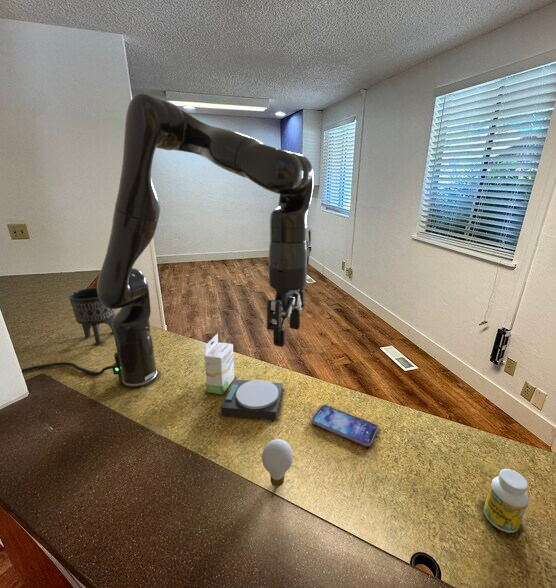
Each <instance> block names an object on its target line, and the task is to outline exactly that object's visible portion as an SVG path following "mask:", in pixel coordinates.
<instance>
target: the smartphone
mask: <svg viewBox="0 0 556 588" xmlns="http://www.w3.org/2000/svg"><path fill="white" fill-rule="evenodd" d="M311 423H312V424H313V425H314V426H317V427H320V428H321V429H324V430H327V431H329V432H331V433H333V434H336V435H339V436H341V437H343V438H346V439H348V440H351V442H355V443H357V444H359V445H362V446H365V447H370V446H371V445H372V444H373V442H374V439H375V437H376V434H377V432H378V426H377V425H376V424H375V423H373V422H370V421H367V420H365V419H362V418H360V417H357V416H355V415H353V414H350V413H347V412H344V411H342V410H339V409H336V408H334V407H332V406H329V405H326V404H322V405H321V406H320V407H319V409H318V410H317V411H316V412H315V414H314V415H313V416H312V418H311Z"/></svg>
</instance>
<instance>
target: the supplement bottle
mask: <svg viewBox="0 0 556 588" xmlns="http://www.w3.org/2000/svg"><path fill="white" fill-rule="evenodd" d="M528 487H529V484H528V480H527V479H526V478H525V477H524V476H523V475H522V474H520V473H519V472H517V471H516V470H513V469H510V468H502V469H501V470H500V471H499V474H498V476H495V477H494V478H493V479H492V480H491V484H490V487H489V490H488V493H487V496H486V499H485V503H484V506H483V513H484V516H485V517H486V519H487V520H488V521H489V523H490V524H491V525H492V526H493V527H495V528H497V529H498V530H500V531H502V532H505V533H516V532H517V531H518V530H519V528H520V525H521V523H522V520H523V517H524V514H525V512H526V509H527V506H528V504H529V495H528V492H527V491H528Z"/></svg>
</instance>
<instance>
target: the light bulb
mask: <svg viewBox="0 0 556 588" xmlns="http://www.w3.org/2000/svg"><path fill="white" fill-rule="evenodd" d="M293 460H294V452H293V449H292V446H291V445H290V444H289V443H288V441H286V440H284V439H280V438H277V439H272V440H270V441H269V442H268V443H266V445H265V446H264V447H263V450H262V454H261V462H262V465H263V467H264V469H265V470H266V471H267V472H268V473H269V476H270V484H271V485H272V486H274V487H276V488H277V487H281V486H282V485H283V484H284V483H285V475H286V472H287V471H288V470H289V469H290V468H291V466H292V464H293Z"/></svg>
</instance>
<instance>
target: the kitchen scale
mask: <svg viewBox="0 0 556 588" xmlns="http://www.w3.org/2000/svg"><path fill="white" fill-rule="evenodd" d="M282 393H283V383H282V382H274V381H273V382H272V381H269V380H264V379H254V380H253V379H252V380H249V379H248V380H247V379H237V378H234V379H233V381H232V383H231V386H230V388H229V390H228V392H227V394H226V396H225V399H224V401H223V403H222V405H221V407H220V409H221V410H220V411H221V416H229V417H237V418H238V417H239V418H251V419H262V420H271V421H272V420H273V421H276V420H277V416H278V413H279V407H280V403H281V398H282Z"/></svg>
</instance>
